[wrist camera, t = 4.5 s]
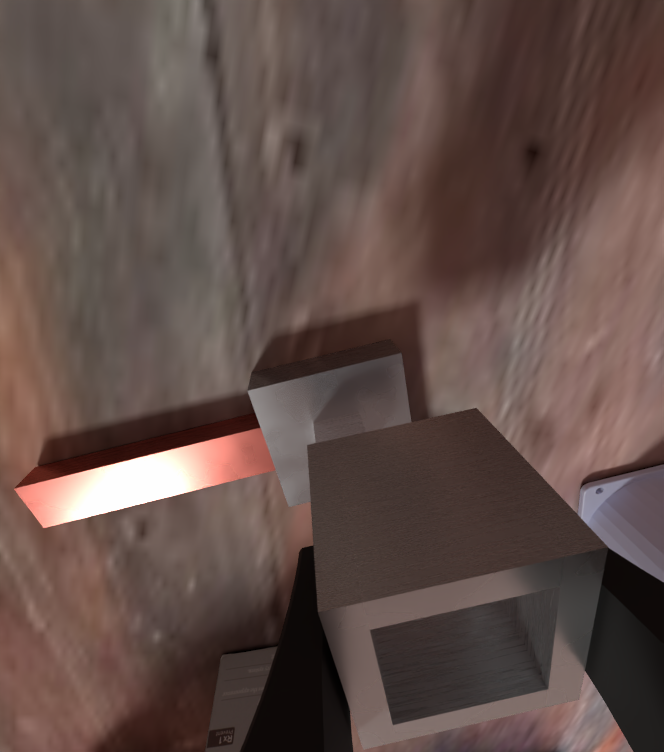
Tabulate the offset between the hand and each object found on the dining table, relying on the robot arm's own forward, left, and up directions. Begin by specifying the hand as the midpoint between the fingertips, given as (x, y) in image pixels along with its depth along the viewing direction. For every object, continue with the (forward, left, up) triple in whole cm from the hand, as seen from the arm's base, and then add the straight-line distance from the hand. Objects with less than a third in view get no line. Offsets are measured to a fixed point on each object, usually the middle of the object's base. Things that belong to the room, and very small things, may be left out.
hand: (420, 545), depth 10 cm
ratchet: (+8, +1, -9) cm, 12 cm away
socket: (0, 0, -2) cm, 2 cm away
